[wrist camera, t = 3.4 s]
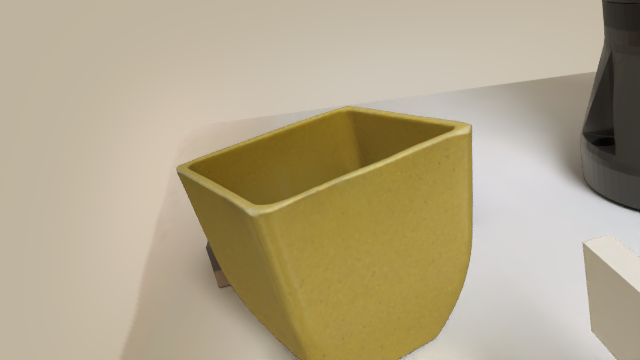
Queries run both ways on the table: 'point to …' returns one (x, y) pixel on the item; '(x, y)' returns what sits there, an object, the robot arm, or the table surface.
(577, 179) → the table surface
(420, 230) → the flower pot
